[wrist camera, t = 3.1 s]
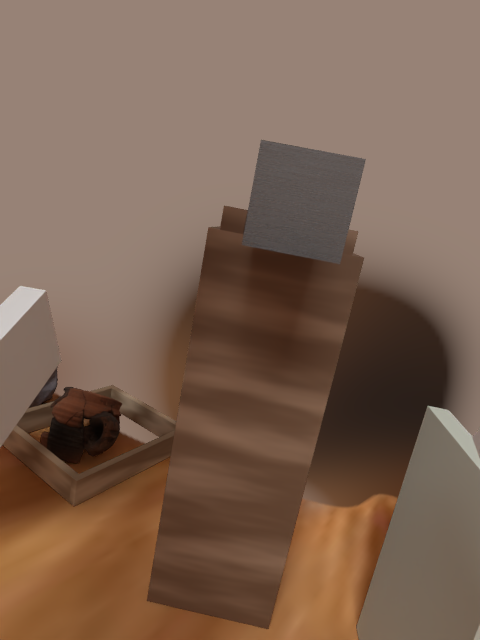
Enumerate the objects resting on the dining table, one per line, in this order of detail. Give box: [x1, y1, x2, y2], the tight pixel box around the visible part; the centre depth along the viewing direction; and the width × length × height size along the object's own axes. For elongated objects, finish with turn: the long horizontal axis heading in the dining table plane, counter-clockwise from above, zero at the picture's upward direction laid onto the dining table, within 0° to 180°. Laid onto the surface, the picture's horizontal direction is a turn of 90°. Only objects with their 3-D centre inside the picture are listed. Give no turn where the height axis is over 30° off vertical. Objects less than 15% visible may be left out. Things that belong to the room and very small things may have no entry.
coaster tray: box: [3, 385, 176, 506], centre depth 53 cm, size 16×17×3 cm
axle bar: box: [242, 140, 365, 264], centre depth 29 cm, size 26×4×4 cm, turn 175°
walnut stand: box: [147, 206, 364, 629], centre depth 38 cm, size 16×10×32 cm, turn 175°
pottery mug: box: [40, 387, 122, 463], centre depth 52 cm, size 12×10×8 cm
